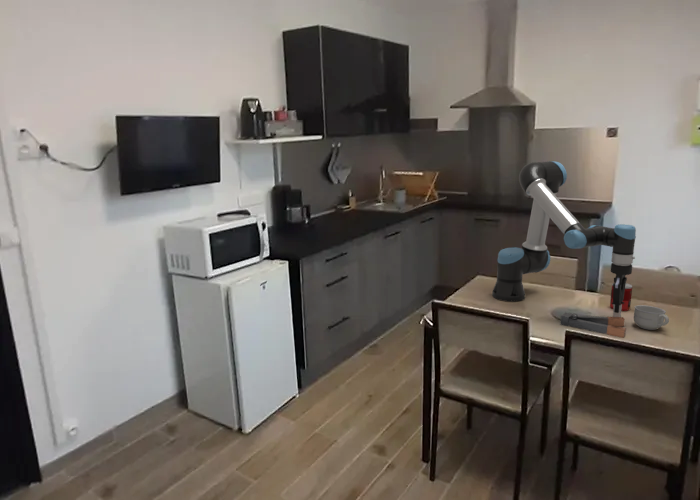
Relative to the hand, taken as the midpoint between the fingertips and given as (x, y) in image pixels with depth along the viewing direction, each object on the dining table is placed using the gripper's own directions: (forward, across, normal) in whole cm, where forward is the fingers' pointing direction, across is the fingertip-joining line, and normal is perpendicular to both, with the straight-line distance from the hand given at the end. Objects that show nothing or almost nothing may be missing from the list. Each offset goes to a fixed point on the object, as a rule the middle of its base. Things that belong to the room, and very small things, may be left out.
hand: (616, 319), depth 208 cm
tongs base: (+2, -12, +6) cm, 13 cm away
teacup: (+2, +2, -12) cm, 12 cm away
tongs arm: (+2, -7, +6) cm, 9 cm away
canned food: (+2, +21, +3) cm, 22 cm away
